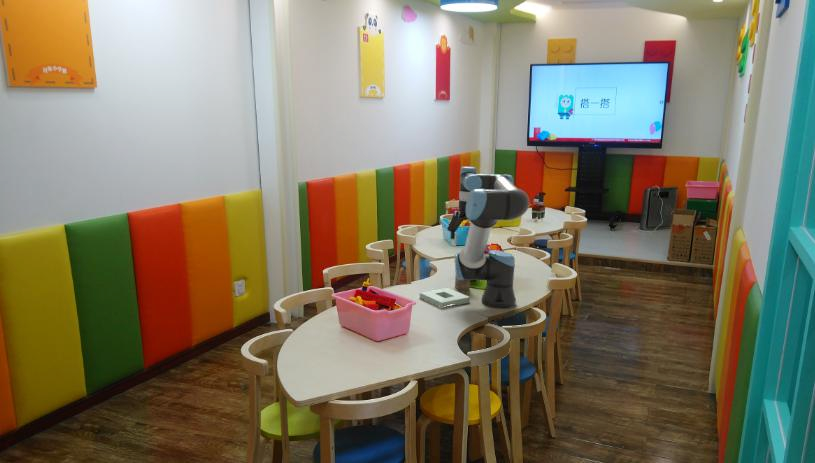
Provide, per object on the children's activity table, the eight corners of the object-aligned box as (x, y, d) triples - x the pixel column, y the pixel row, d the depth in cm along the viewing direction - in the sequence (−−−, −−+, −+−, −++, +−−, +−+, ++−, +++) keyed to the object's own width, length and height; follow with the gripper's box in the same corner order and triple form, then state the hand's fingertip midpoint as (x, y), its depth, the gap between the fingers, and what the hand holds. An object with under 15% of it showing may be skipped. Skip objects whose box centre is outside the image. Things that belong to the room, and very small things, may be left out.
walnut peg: (469, 289, 277) (470, 263, 274) (463, 290, 274) (464, 264, 272) (461, 286, 281) (462, 260, 279) (454, 287, 279) (456, 261, 277)
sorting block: (469, 302, 257) (469, 297, 257) (441, 308, 248) (441, 302, 248) (447, 292, 270) (447, 287, 269) (419, 298, 261) (419, 292, 260)
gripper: (481, 197, 280) (478, 240, 284) (441, 200, 265) (439, 245, 270) (492, 199, 274) (489, 243, 278) (451, 202, 259) (449, 248, 264)
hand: (464, 244), depth 274 cm, fingers open, 13 cm apart
